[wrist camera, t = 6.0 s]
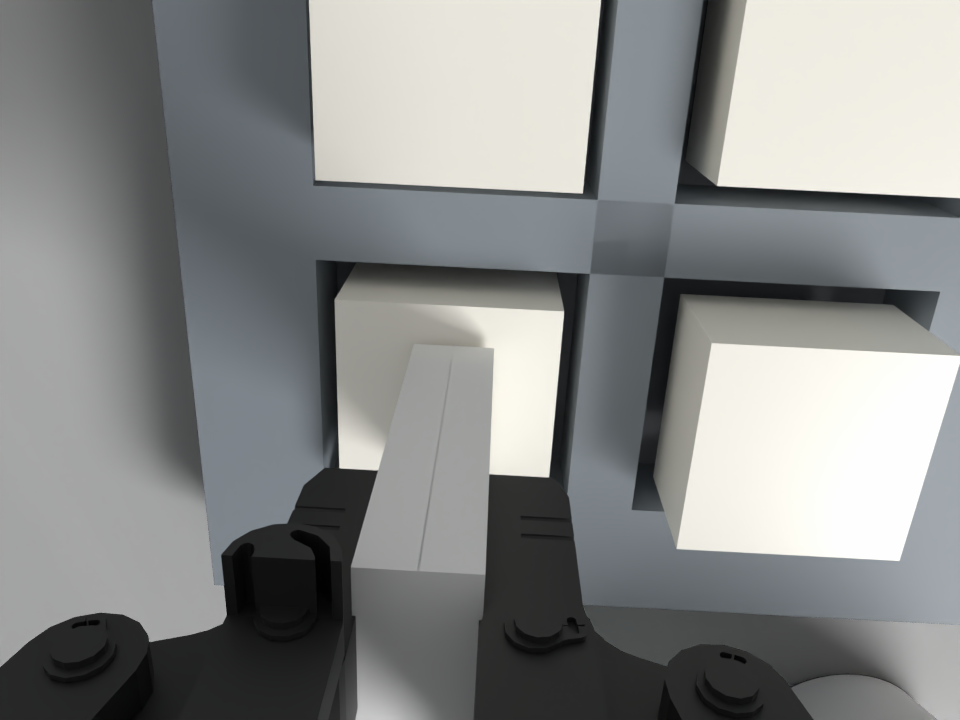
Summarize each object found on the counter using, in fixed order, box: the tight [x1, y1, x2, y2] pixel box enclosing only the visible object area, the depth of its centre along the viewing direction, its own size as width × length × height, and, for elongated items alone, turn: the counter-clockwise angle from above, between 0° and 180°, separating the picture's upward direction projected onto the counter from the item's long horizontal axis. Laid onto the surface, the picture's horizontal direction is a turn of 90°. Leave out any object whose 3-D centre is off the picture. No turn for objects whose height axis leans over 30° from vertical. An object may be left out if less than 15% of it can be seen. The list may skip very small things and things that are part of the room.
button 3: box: [309, 0, 601, 194], centre depth 13 cm, size 4×4×3 cm
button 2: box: [653, 294, 960, 561], centre depth 16 cm, size 4×4×3 cm
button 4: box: [335, 262, 564, 477], centre depth 17 cm, size 4×4×3 cm
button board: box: [152, 0, 960, 625], centre depth 16 cm, size 17×17×2 cm
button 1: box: [685, 0, 960, 198], centre depth 14 cm, size 4×4×3 cm
